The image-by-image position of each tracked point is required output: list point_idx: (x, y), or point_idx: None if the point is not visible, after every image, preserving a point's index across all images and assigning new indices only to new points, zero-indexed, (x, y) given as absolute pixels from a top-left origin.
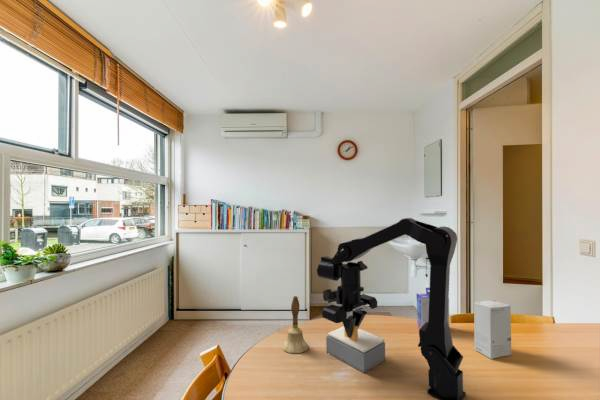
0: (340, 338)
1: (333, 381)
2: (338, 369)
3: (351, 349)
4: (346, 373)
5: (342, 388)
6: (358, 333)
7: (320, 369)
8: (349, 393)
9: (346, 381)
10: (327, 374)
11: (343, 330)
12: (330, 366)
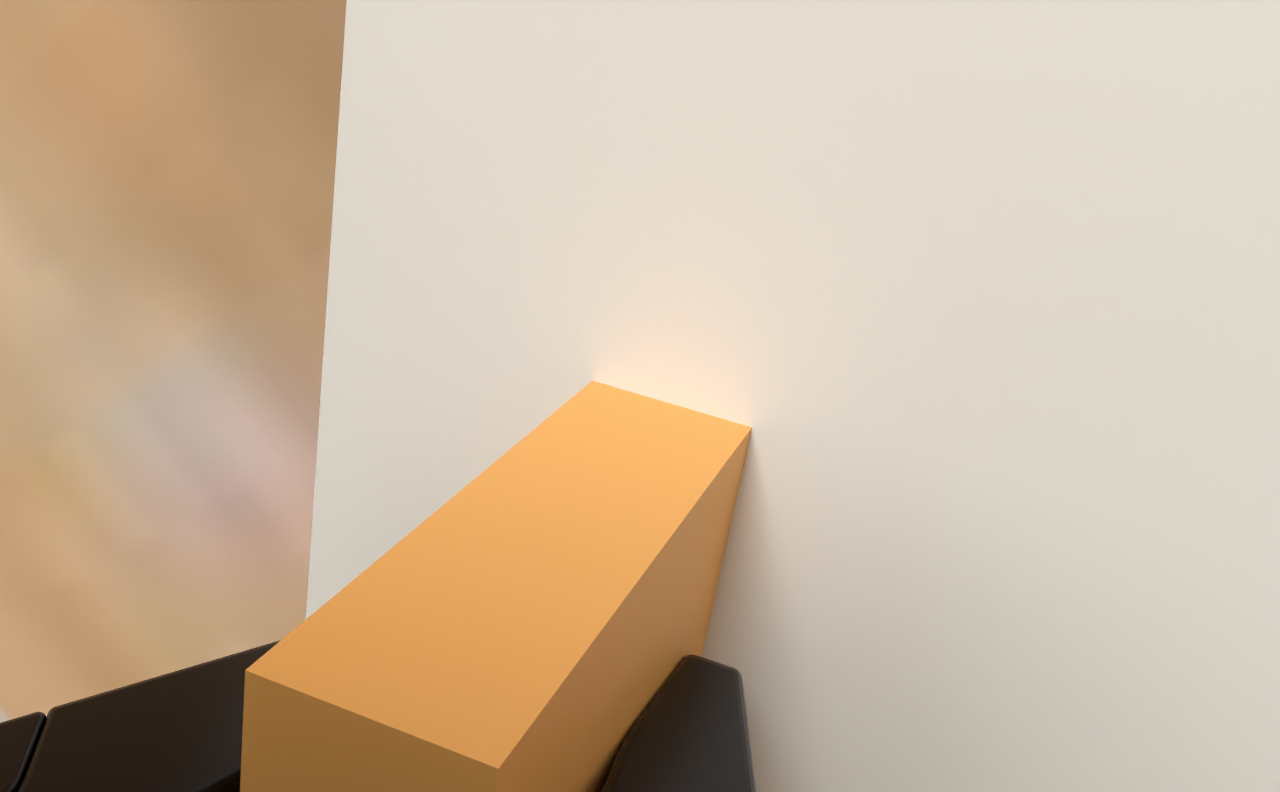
0: (359, 322)
1: (18, 414)
2: (294, 337)
3: None
4: (300, 509)
5: (9, 588)
6: (1194, 776)
7: (71, 42)
8: (9, 698)
9: (150, 583)
10: (64, 241)
11: (1106, 59)
12: (264, 153)
